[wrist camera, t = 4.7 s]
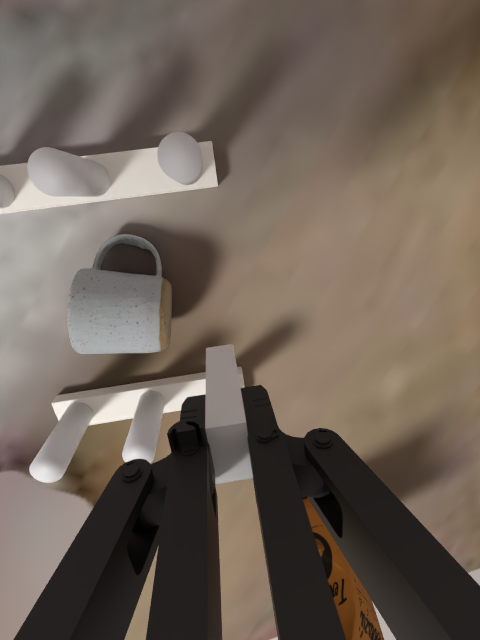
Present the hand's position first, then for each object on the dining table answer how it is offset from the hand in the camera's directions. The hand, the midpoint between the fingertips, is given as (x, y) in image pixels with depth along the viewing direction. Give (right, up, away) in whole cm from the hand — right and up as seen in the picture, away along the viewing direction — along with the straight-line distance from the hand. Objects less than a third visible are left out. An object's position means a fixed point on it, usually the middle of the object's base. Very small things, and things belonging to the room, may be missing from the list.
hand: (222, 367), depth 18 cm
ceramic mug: (-10, +6, +15) cm, 19 cm away
